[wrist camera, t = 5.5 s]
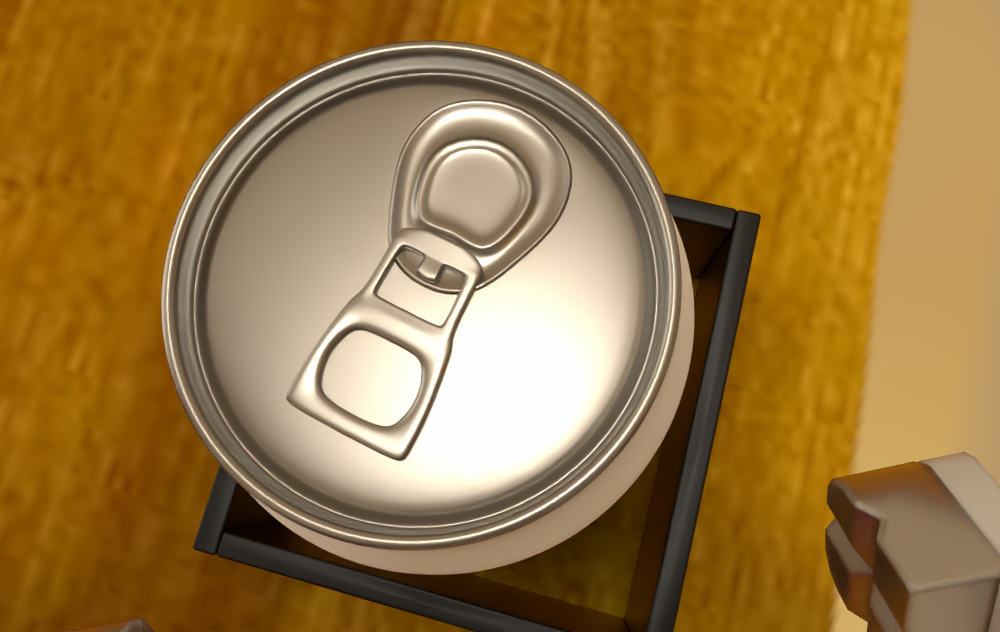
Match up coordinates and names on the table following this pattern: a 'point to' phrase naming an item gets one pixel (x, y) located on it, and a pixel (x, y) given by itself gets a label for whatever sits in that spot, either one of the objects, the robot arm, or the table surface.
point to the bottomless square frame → (672, 510)
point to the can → (429, 307)
